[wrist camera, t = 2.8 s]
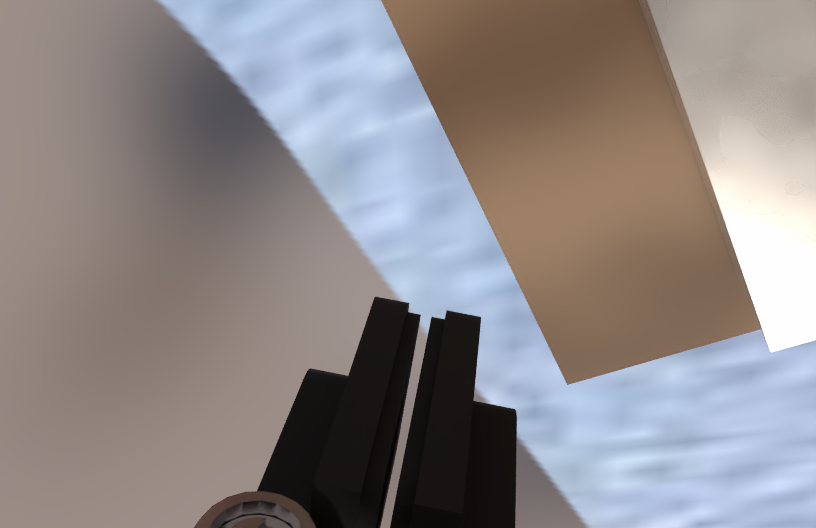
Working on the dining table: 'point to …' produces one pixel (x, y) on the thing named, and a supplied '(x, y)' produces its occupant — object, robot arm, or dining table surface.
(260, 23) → the dining table surface
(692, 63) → the bar
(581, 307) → the brown wooden board
